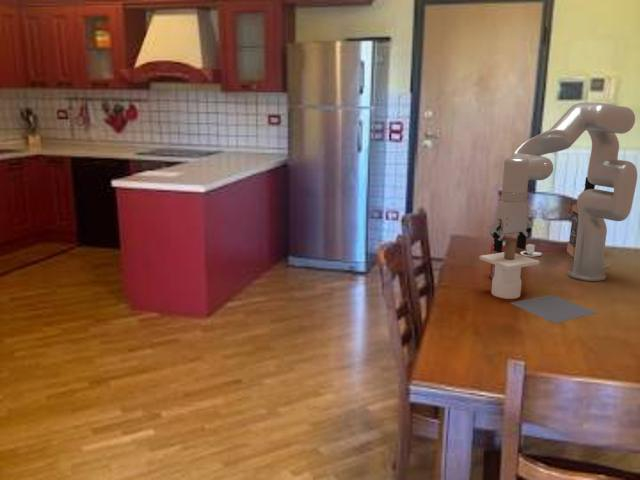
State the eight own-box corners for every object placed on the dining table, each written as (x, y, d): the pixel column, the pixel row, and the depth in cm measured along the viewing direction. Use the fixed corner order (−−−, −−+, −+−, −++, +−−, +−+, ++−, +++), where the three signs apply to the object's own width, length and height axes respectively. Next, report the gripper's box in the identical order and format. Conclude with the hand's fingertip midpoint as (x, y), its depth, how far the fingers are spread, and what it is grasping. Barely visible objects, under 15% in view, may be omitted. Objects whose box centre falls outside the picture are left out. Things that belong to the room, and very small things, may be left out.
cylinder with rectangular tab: (505, 303, 188) (508, 267, 185) (485, 294, 195) (487, 259, 193) (526, 298, 192) (529, 263, 189) (505, 290, 200) (508, 256, 197)
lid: (509, 254, 199) (511, 233, 197) (539, 264, 188) (541, 242, 186) (479, 258, 194) (480, 238, 192) (507, 269, 182) (509, 247, 180)
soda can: (510, 281, 209) (514, 246, 205) (489, 280, 210) (492, 244, 207) (508, 275, 215) (511, 241, 212) (488, 274, 217) (490, 240, 213)
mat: (551, 297, 193) (551, 294, 193) (598, 316, 177) (598, 312, 177) (509, 306, 185) (509, 303, 185) (554, 326, 170) (554, 322, 169)
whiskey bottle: (566, 251, 248) (574, 174, 240) (590, 252, 247) (600, 175, 239) (572, 258, 238) (581, 178, 230) (598, 259, 237) (608, 179, 229)
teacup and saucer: (544, 258, 239) (545, 248, 238) (524, 258, 240) (525, 248, 239) (536, 252, 248) (537, 242, 247) (517, 252, 248) (518, 242, 247)
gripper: (525, 193, 192) (521, 244, 197) (484, 197, 185) (480, 250, 189) (543, 196, 186) (538, 249, 190) (501, 201, 179) (496, 256, 183)
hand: (509, 249), depth 190 cm, fingers open, 9 cm apart
